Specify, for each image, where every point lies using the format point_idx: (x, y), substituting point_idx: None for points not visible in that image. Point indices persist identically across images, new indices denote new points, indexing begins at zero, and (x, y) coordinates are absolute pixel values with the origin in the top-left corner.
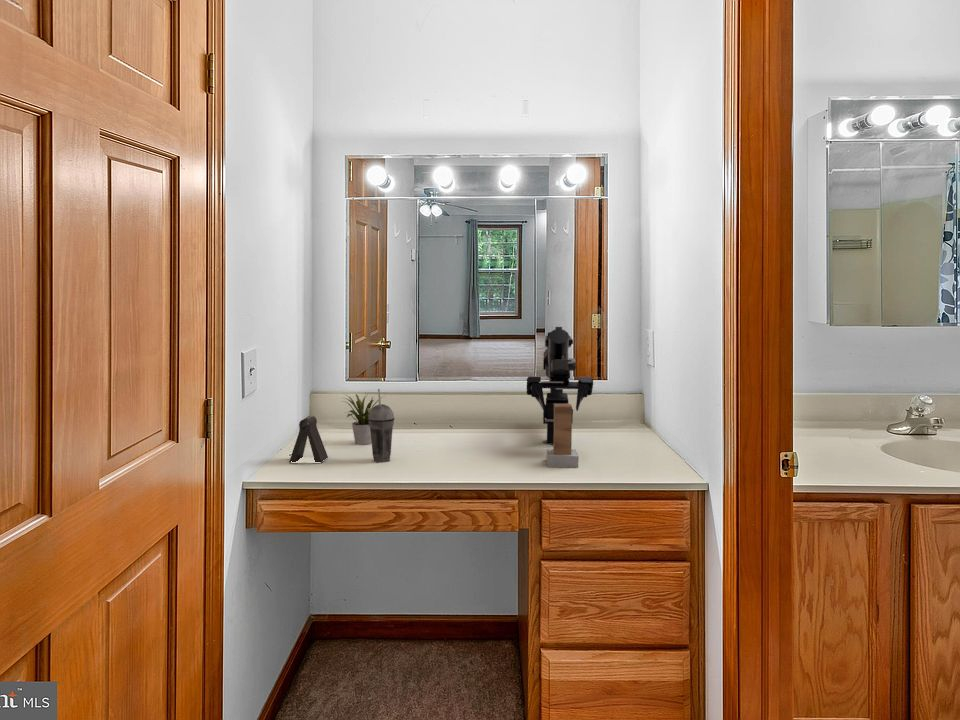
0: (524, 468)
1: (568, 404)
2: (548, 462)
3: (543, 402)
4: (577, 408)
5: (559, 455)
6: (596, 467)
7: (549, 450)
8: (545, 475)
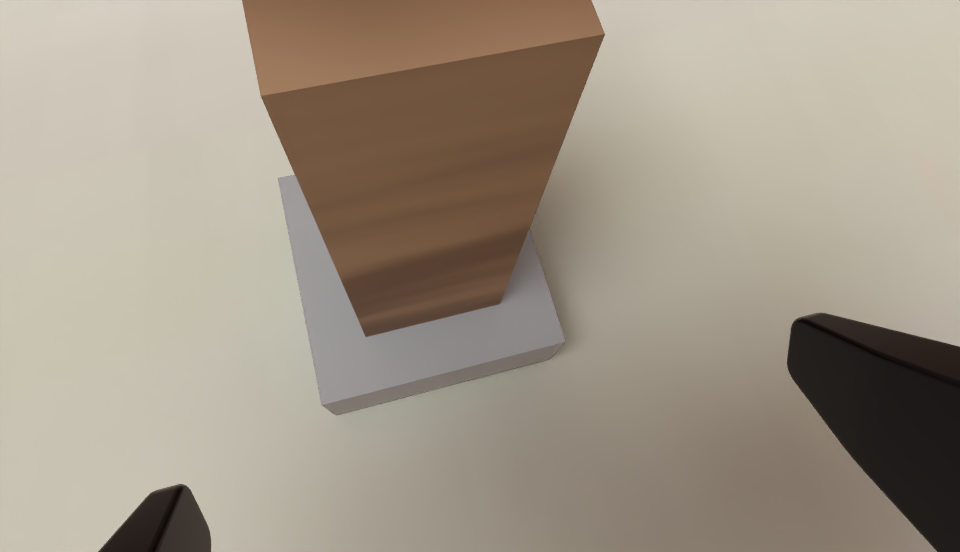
0: (618, 110)
1: (296, 7)
2: None
3: (918, 351)
4: (166, 488)
5: None
6: (169, 248)
7: (530, 298)
8: None
